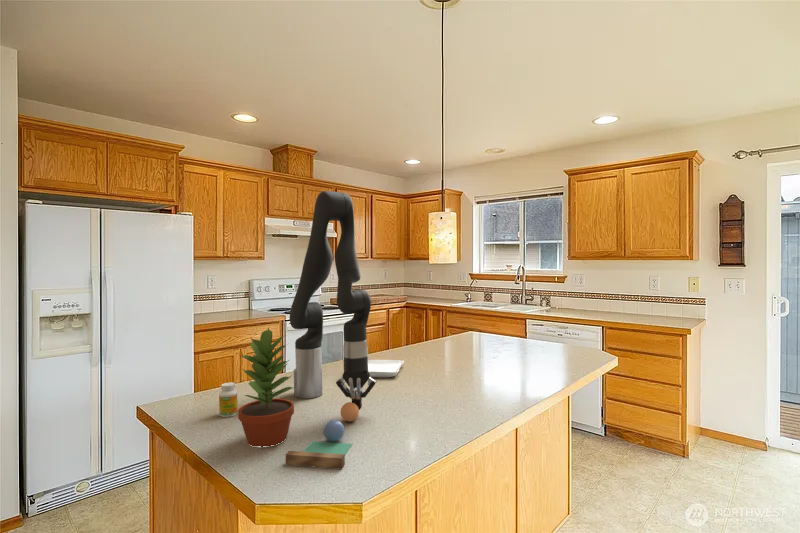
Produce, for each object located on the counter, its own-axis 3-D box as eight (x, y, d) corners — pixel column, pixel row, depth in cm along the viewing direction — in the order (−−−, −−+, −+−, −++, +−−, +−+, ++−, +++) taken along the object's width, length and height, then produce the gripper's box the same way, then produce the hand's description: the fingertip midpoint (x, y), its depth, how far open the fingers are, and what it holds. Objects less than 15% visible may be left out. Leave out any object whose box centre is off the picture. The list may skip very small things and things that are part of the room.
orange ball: (338, 424, 125) (337, 405, 125) (344, 417, 131) (343, 399, 131) (356, 425, 124) (355, 406, 124) (361, 418, 130) (360, 400, 130)
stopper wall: (285, 464, 101) (285, 454, 101) (289, 460, 103) (289, 450, 103) (342, 469, 98) (341, 458, 98) (344, 465, 100) (344, 454, 100)
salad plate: (358, 366, 195) (358, 358, 194) (404, 367, 192) (404, 359, 192) (346, 379, 174) (346, 371, 174) (397, 380, 171) (397, 372, 171)
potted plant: (240, 457, 105) (237, 336, 105) (237, 434, 119) (234, 327, 119) (301, 445, 111) (298, 331, 111) (291, 425, 125) (289, 323, 125)
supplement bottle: (220, 418, 131) (219, 387, 131) (218, 413, 136) (218, 383, 136) (238, 415, 134) (238, 384, 134) (236, 410, 139) (236, 380, 138)
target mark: (295, 461, 103) (295, 460, 103) (312, 441, 113) (312, 441, 113) (338, 464, 101) (338, 463, 101) (352, 444, 111) (352, 443, 111)
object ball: (320, 444, 112) (320, 423, 112) (328, 435, 117) (327, 416, 117) (340, 445, 111) (340, 424, 111) (347, 437, 116) (346, 417, 116)
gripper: (331, 357, 129) (332, 414, 129) (374, 357, 127) (375, 415, 127) (338, 351, 136) (339, 405, 136) (378, 352, 134) (380, 406, 135)
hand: (357, 410), depth 132 cm, fingers closed
